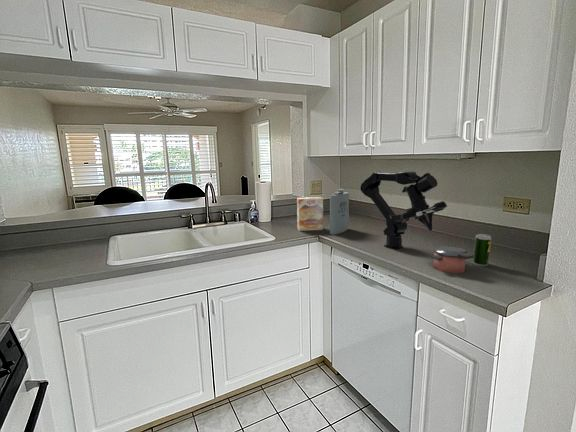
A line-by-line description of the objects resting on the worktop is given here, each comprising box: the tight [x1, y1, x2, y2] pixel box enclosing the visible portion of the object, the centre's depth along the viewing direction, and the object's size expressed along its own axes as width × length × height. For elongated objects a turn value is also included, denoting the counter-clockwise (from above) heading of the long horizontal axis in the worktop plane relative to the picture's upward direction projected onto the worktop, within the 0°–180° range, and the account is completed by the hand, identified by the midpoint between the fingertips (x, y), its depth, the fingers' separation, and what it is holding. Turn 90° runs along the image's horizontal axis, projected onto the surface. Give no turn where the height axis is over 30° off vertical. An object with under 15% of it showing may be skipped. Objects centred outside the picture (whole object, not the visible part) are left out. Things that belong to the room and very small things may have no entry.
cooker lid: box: [433, 245, 474, 260], centre depth 119 cm, size 14×11×1 cm
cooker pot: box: [431, 251, 467, 274], centre depth 122 cm, size 12×15×6 cm
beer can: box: [472, 233, 492, 267], centre depth 124 cm, size 5×5×12 cm
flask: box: [329, 188, 350, 235], centre depth 181 cm, size 17×5×25 cm, turn 141°
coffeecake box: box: [296, 196, 324, 232], centre depth 189 cm, size 15×7×20 cm, turn 97°
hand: (430, 230), depth 132 cm, fingers closed
